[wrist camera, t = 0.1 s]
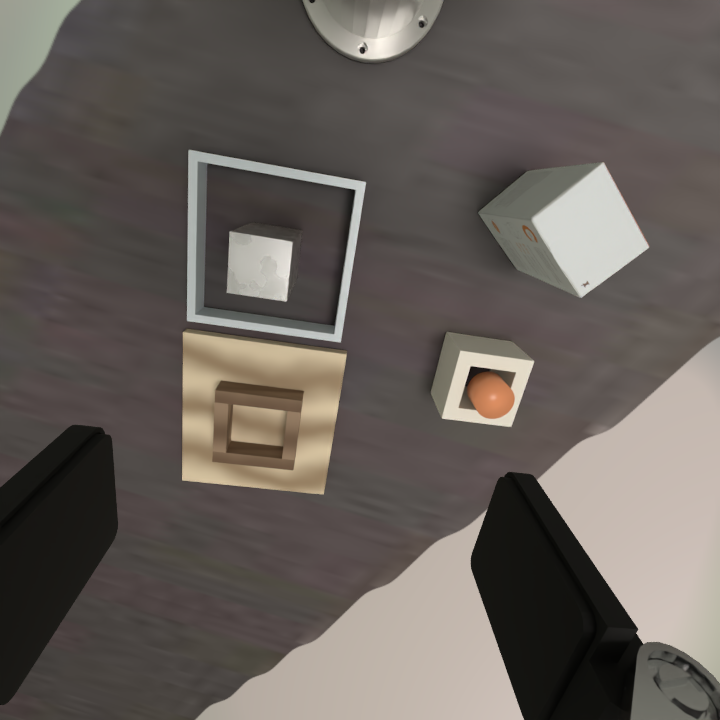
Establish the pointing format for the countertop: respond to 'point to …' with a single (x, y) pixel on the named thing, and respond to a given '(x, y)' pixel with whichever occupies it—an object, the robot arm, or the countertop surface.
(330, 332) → the tote tray
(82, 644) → the countertop surface
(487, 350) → the button post
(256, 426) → the plate
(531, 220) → the small box
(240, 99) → the countertop surface
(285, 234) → the block
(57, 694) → the countertop surface
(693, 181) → the countertop surface
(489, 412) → the button
